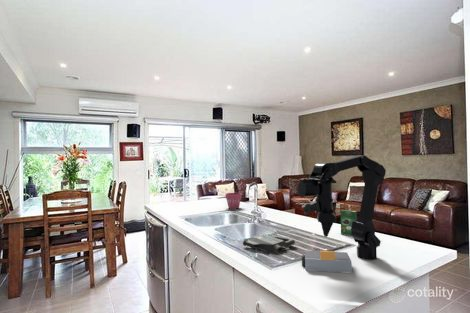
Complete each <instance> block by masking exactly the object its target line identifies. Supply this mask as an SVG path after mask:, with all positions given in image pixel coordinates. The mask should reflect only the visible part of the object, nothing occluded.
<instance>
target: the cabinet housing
mask: <svg viewBox="0 0 470 313" xmlns="http://www.w3.org/2000/svg"><path fill="white" fill-rule="evenodd" d="M320 251H321V250H304V254H301V266H302V267H303V266H305V258H316V259H320ZM335 260H350V261H351V262H352V259H351V258H350V256H349V254H348V252H346V251H345V252H344V251H343V252H342V251H335Z"/></svg>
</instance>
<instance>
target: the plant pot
mask: <svg viewBox="0 0 470 313" xmlns="http://www.w3.org/2000/svg"><path fill="white" fill-rule="evenodd" d="M242 197H243V196H242V193H241V192H229V193H225V199H226V202H227V206H228V209H229V208H230V209H229V210H237V209H236V208H239V209H240V205H241V199H242Z"/></svg>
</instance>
